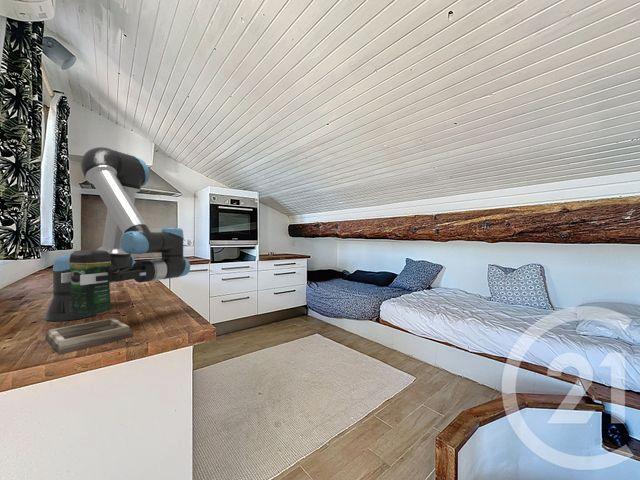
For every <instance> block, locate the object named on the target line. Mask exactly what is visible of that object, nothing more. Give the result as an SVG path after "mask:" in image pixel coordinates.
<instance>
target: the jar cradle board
mask: <svg viewBox="0 0 640 480" xmlns="http://www.w3.org/2000/svg"><path fill="white" fill-rule="evenodd" d="M130 329H131V328H130V326H129V325H127V324H126V323H124V322H121V320H118V319H116V318H114V317H110V318H104V319H100V320H99V319H98V320H95V321H91V322H85V323H84V322H83V323H79V324H75V325H67V326H63V327H57V328H53V329H52V328H51V329H48V333H46V334H45V339H46V340H47V341H48V343H50V345H51V346H52V347H53V348H54V350H55V351H56V352H57V353H58V354H59V355H62V354H66V353H70V352H71V353H72V352H76V351H79V350H83V349H87V348H92V347H96V346H99V345H104V344H107V343H111V342H112V343H113V342H115V341H121V340H125V339H129V338H133V337H134V332H133V331H131V330H130Z"/></svg>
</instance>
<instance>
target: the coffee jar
mask: <svg viewBox="0 0 640 480" xmlns="http://www.w3.org/2000/svg"><path fill="white" fill-rule="evenodd" d="M70 254H71V255H70V261H69V262H70V263H69V265H70V270H71V287H70V302H69V313H70V314H74V315H91V314H97V315H100V314H104V313H106V312H108V311H110V310H111V307H112V305H111V291H110V290H111V287H110V283H109V280H108V282H103V283H95V284H87V285H80V275H87V274H97V273H108V275H109V270H110V265H111V258H110V253H108V252H107V251H101V250H97V249H82V250H74V251H73V252H72V253H70Z"/></svg>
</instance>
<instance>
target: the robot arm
mask: <svg viewBox="0 0 640 480" xmlns="http://www.w3.org/2000/svg"><path fill="white" fill-rule="evenodd" d="M80 169H81V172H82V174H83V176H84V178H85V180H86V181H87V182H88V183H90V184H92V185H93V187H94V188H95V190H96V191H97V193H98V194H99V196H100V198H101V199H102V201H103V203H104V204H105V206H106V208H107V212H106V217H105V224H104V225H105V226H104V232H103V233H104V234H103V240H102V246H100V247H99V248H97V249H96V250H101V251H107V252H108V253H110V258H111V265H110V270H109V275H108V273H97V274H87V275H80V285H87V284H95V283H103V282H108V280H109V284H110V283H118V282H125V281H129V280H130V281H131V280H134V281H135V282H136V283H147V282H153V281H154V282H155V283H156V282H157V283H158V282H159V281H160V280H161V281H162V280H167V279H175V278H180V277H184V276H186V275H188V274H189V273H190V270H191V264H190V261H189V259H187V258H186V257H185V256H184V240H185V239H184V231H183V229H182V228H180V227H162V228H161V230H160V231H161V232H159V231H157V232H156V231H155V232H154V231H153V232H152V231H151V230H150V229H149V226H148V225H147V223H146V222H145V221H144V219H143V218H142V216H141V213H139V210H138V209H137V208H136V206H135V201H136V200H135V199H136V195H137V193H138V192H140V191H141V189H142V187H143V186H145V185H146V184H147V183H148V182H149V179H150V169H149V167H148V165H147V163H146V162H145V161H144V160H143V159H141V158H138V157H137V156H135V155H130V154H129V153H124V152H120V151H117V150H114V149H111V148H108V147H101V146H100V147H98V146H97V147H94V148H91V149H89V150H87V151H86V152H85V153H84V154H83V156H82V157H81V160H80ZM71 254H72V253H68V254H61V255H59V256H57V257H55V258H54V260H53V265H52V273H53V274H52V299H51V301H50V304H49V305H48V308H47V310H46V313H45V319H46V321H50V322H64V321H74V320H75V321H76V320H79V319H85V318H89V317H93V316H96V315H98V314H91V315H74V314H70V313H69V302H70V287H71V270H70V265H69V263H70V262H69V261H70V255H71ZM145 254H161V256H160V257H161V259H159V258H158V259H157V258H156V259H149V260H146V259H145V260H137V261H135V260H136V258H135V257H134V256H133V255H145Z"/></svg>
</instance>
